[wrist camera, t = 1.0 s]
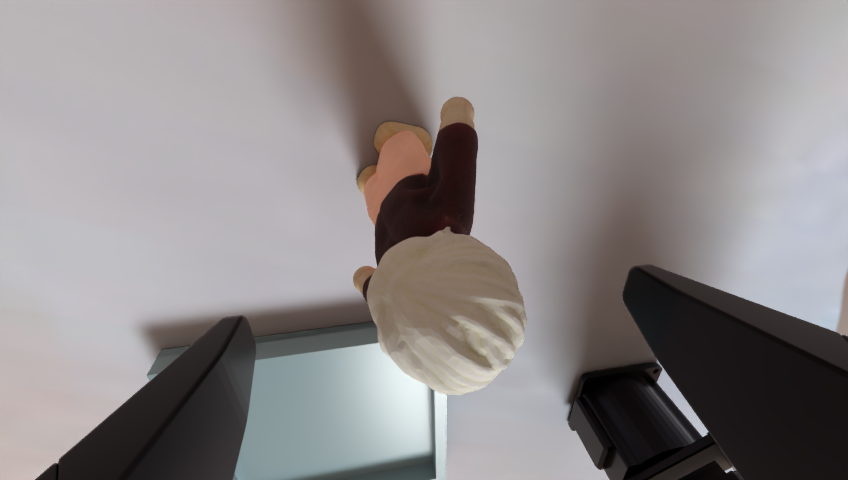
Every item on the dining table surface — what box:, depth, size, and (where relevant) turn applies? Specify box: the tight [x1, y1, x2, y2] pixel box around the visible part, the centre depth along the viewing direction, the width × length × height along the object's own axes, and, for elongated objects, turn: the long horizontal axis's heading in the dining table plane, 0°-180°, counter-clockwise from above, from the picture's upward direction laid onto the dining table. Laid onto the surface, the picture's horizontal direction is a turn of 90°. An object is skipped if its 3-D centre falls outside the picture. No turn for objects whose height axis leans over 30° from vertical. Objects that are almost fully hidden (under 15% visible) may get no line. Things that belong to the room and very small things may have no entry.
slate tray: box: [147, 322, 447, 480], centre depth 25 cm, size 16×16×2 cm
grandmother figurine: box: [353, 97, 527, 395], centre depth 12 cm, size 8×4×13 cm, turn 164°
